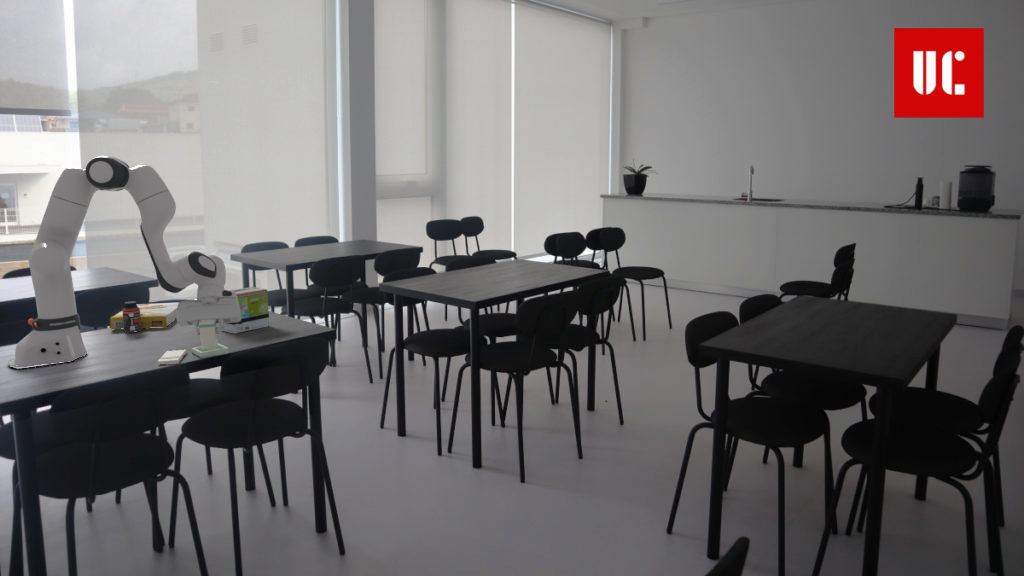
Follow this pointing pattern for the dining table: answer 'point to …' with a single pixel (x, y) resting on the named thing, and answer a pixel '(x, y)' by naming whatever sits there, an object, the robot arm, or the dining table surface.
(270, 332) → the dining table surface
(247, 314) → the tea box
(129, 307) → the supplement bottle
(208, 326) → the white teal striped box
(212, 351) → the tray
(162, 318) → the cereal box
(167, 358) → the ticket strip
